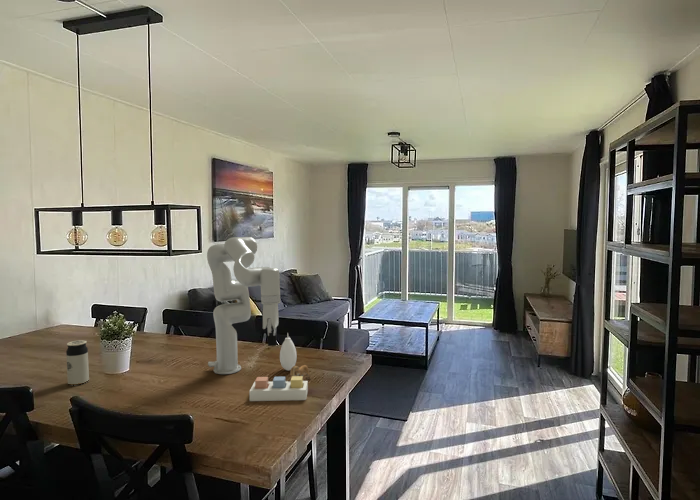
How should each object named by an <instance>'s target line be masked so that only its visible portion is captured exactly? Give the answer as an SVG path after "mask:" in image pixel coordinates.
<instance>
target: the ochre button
mask: <svg viewBox="0 0 700 500" xmlns="http://www.w3.org/2000/svg"><path fill="white" fill-rule="evenodd" d="M290 377H291V376H290ZM303 377H304V375H303V376H292V377H291V379H290V381H291V388H302V387H303V381H304V379H303Z"/></svg>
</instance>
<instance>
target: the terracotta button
mask: <svg viewBox="0 0 700 500" xmlns="http://www.w3.org/2000/svg"><path fill="white" fill-rule="evenodd" d="M254 382H255V389H267V388H268V382H269V376H257V377H256V379H255V380H254Z"/></svg>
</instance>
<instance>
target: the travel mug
mask: <svg viewBox="0 0 700 500" xmlns="http://www.w3.org/2000/svg"><path fill="white" fill-rule="evenodd" d="M66 346H67V349H66V351H65V353H66V373H67V375H66V376H67V385H68V384H78V383H84V382H86V381H88V380H89V381H90V371H89V351H88V350H89V348H88V346H87V340H81V339H78V340H73V341H69V342H67V343H66ZM89 381H88V382H89ZM86 383H87V382H86ZM84 384H85V383H84Z"/></svg>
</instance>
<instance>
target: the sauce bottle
mask: <svg viewBox="0 0 700 500" xmlns="http://www.w3.org/2000/svg"><path fill="white" fill-rule="evenodd" d="M286 336H287V337H285V338H284V341H283V342H282V344H281V348H280V351H279V361H280V365H281V367H282V368H283V369H284V370H285V371H287V372H288V371H291V368H292V367H293V366H296V363H297V358H298V357H297V349H296V346H295V344H294V342H293V340H292V339H291V337H290V336H289V333H287V335H286Z"/></svg>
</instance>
